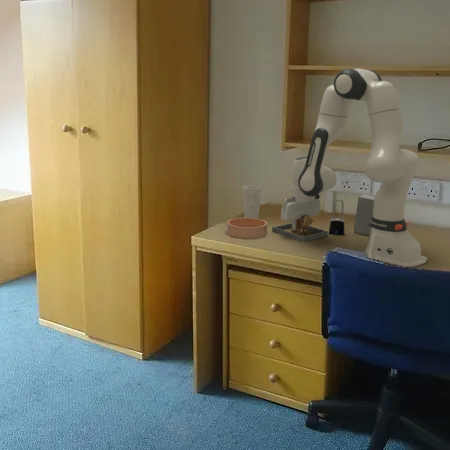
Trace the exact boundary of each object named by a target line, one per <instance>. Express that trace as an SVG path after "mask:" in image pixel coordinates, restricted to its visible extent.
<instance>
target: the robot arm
mask: <svg viewBox="0 0 450 450" xmlns="http://www.w3.org/2000/svg"><path fill="white" fill-rule="evenodd" d="M356 100H357V101H364V102H365V105H366V108H367V115H368V121H369V126H370V127H369V129H370V133H371V143H370V144H371V146H370V154H369V156H368V159H367V161H366V163H365V174H366V176H367V178H368V179H369V180H370V181H372V182H375V183H380V186H379V188H378V190H377V191H376V193H375V194H374V196H375V197H374V208H373V216H372V218H371V233H370V236H369V238H368V243H367V245H366V249H365V251H364V253H365V255H366V257H368V258H367V259H369V258H370V259H369V260H373V259H375V260H374V261H377V260H379V261H378V262H381V261H382V262H383V263H386V264H391V265H395V266H399V267H404V268H412V267H417V266H421V265H424V264H425V263H427V261H428V258H427V256H424V255H422V249H421V244H420V242H419V241H418V240H417V239H416V238H415V237H414V236H413V235H412V234H411V232H409V230H408V226H410V222H409V221H408V222H406V220H405V218H404V216H405V208H406V203H407V201H406V200H407V196H408V193H409V189H410V187H411V184H412V181H413V178H414V176H415V174H416V173H417V172H418V171H419V168H420V163H421V162H420V158H419V156H418V154H416V152H414V151H412V150H410V149H405V148H400V142H401V137H402V134H403V133H404V125H403V120H402V114H401V108H400V103H399V99H398V95H397V92H396V90H395V87H394V85H393V84H392V83H391V82H389V81H387V80H382V77H381V75H379V73H377V72H376V71H374V70H372V69H364V68H346V69H343V70H341V71H339V72H338V73H337V74H336V75H335V78H334V81H333V84H330V85H328V86H327V87H326V89H325V90H324V93H323V97H322V99H321V103H320V105H319V106H320V107H319V113H318V116H317V117H318V118H317V122H316V125H315V129H314V131H313V135H312V139H311V141H310V145H309V148H308V152H307V156H303V157H301V156H300V157H297V158H295V160H294V161H293V164H292V169H291V183H292V185H291V188H290V197H289V198H285V200H284V201H283V202H282V206H281V211H280V212H281V213H280V219H281V220H282V221H283V222H290V223H291V224H292V229H293V231H296V230H297V231H298V226H297V225H296V223H295V222H296V221H297V219H300V218H301V217H302V216H304V215H309V216H310V218H311V217H314V216H319V215H320V212H321V198H322V194H321V193H324V192H326V191H329V190H331V189H332V188H334V187H335V185H336V184H337V175H336V172H335V171H334V170H333V169H332V168H331V167H329V166H325V165H323V163H324V161H325V155H326V152H327V150H328V148H329V146H330V145H331V144H332V143H333V142H334V141H335V140H336V139H337V138H339V137H340V136H341V135H342V134H344V132H345V128H346V126H347V124H348V118H349V113H350V107H351V105H352V103H353V102H355V101H356Z"/></svg>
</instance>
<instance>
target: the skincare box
mask: <svg viewBox="0 0 450 450" xmlns="http://www.w3.org/2000/svg"><path fill="white" fill-rule="evenodd" d="M374 197H375V195H370V194H363V195H359V196H358V199H357V204H356V212H355V220H354V227H353V232H354V234H359V235H364V236H369V237H370V233H371V218H372V216H373V208H374Z"/></svg>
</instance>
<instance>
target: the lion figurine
mask: <svg viewBox="0 0 450 450" xmlns="http://www.w3.org/2000/svg"><path fill="white" fill-rule="evenodd" d="M295 223H296V225H297V226H298V229H297V235H302V236H306V233H305V231H306V230H305V229H306V228H307V227H308V226H310V225H312V224H313V223H314V220H313V219H312V218H311V217H310V216H309V215H304V216H302V217H301V218H300V219H297V221H296V222H295ZM290 227H291V228H290ZM289 229H291V230H290V232H291V233H293V232H294V230H293V229H292V225H291V226H289ZM301 231H302V232H301Z"/></svg>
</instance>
